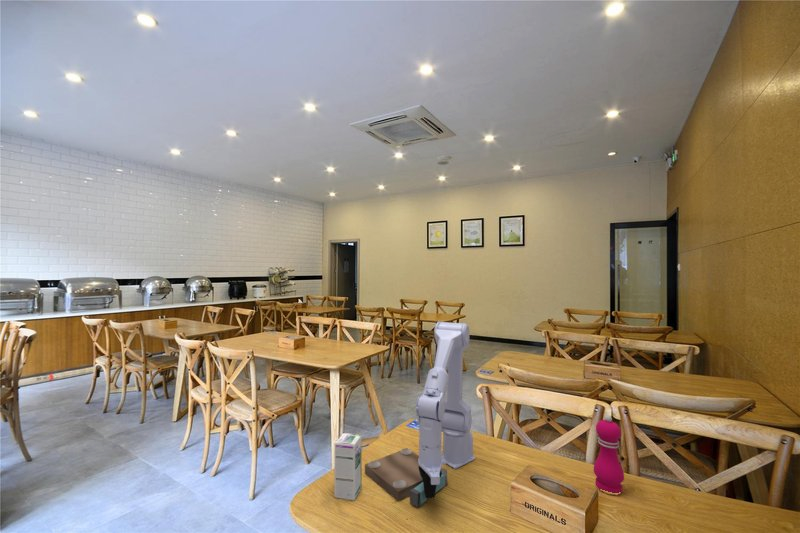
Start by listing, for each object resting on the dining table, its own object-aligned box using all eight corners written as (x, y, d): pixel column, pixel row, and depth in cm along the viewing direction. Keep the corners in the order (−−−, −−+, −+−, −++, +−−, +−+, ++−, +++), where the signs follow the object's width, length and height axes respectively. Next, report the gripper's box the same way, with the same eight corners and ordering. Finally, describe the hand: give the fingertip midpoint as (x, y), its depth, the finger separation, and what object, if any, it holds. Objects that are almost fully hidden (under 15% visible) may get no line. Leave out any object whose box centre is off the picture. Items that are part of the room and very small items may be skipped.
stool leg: (441, 478, 98) (441, 467, 98) (449, 482, 97) (449, 471, 97) (409, 502, 88) (409, 490, 88) (417, 507, 86) (417, 494, 86)
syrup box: (354, 501, 89) (355, 444, 89) (333, 498, 90) (334, 441, 90) (361, 487, 94) (362, 434, 95) (341, 485, 95) (342, 432, 96)
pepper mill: (626, 488, 95) (626, 415, 96) (621, 500, 90) (620, 423, 90) (597, 477, 100) (597, 408, 101) (590, 488, 95) (590, 415, 95)
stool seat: (406, 455, 111) (406, 447, 111) (442, 479, 99) (442, 469, 99) (364, 473, 101) (364, 463, 101) (398, 501, 89) (398, 490, 89)
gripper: (452, 456, 82) (451, 515, 81) (439, 430, 96) (439, 479, 95) (423, 457, 81) (422, 517, 80) (414, 430, 95) (414, 480, 95)
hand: (429, 497), depth 88 cm, fingers closed, pressing on stool leg
